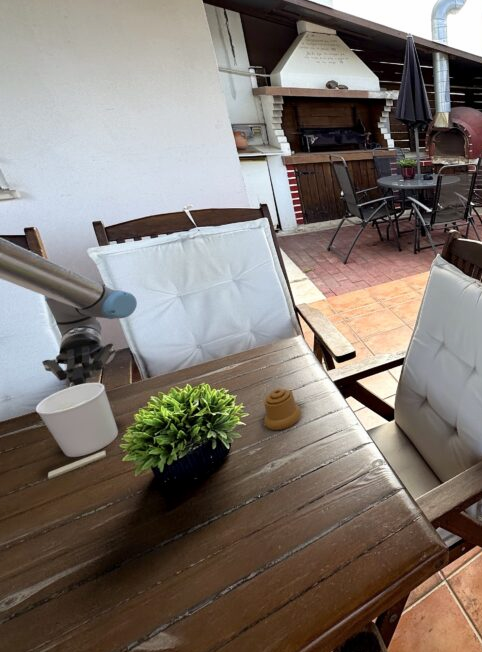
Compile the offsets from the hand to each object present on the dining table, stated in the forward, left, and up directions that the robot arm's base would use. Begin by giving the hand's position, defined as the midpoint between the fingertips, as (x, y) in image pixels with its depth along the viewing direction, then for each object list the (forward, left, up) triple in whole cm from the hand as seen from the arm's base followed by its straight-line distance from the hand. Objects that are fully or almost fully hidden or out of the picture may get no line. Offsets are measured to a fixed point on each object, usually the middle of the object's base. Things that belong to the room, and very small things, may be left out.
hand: (79, 383), depth 91 cm
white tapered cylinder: (+5, -11, -9) cm, 15 cm away
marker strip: (+6, -18, -9) cm, 21 cm away
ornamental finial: (+43, -18, -9) cm, 48 cm away
